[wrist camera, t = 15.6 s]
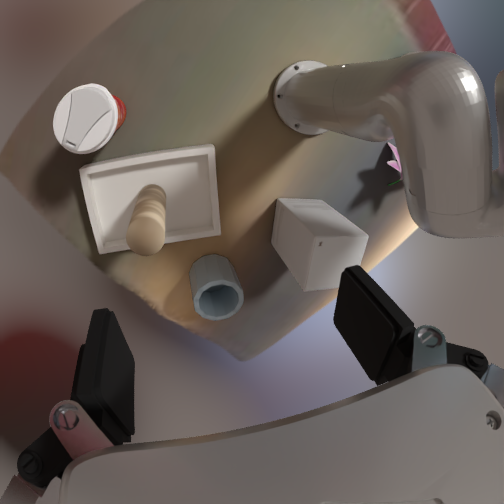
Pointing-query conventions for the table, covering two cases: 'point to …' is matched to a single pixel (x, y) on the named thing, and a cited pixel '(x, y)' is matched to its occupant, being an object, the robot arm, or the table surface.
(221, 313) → the cup
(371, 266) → the table surface
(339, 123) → the robot arm
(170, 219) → the tray
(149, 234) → the dowel
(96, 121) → the paper cup
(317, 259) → the supplement box
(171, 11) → the table surface
